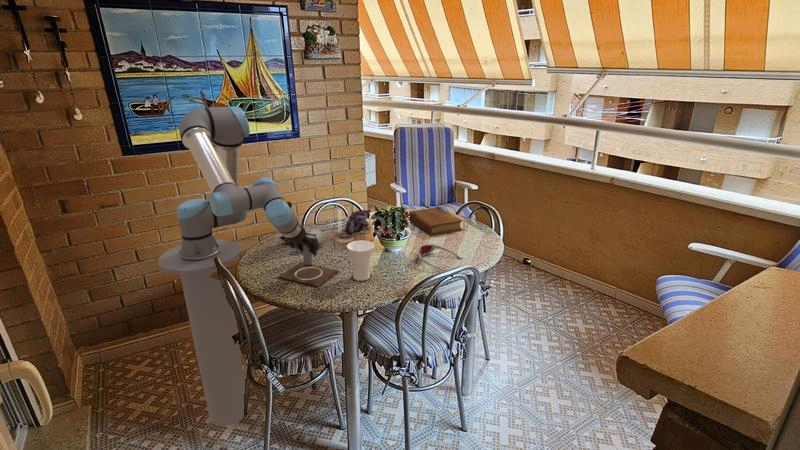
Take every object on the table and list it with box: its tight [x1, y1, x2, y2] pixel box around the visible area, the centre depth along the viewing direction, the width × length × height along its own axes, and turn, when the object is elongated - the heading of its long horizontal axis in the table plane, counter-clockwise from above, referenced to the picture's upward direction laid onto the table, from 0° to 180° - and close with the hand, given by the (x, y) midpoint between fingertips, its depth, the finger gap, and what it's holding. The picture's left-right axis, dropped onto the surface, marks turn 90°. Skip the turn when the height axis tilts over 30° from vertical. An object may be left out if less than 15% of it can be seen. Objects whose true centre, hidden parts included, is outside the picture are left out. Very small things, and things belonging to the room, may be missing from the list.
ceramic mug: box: [307, 228, 325, 245], centre depth 188 cm, size 11×8×8 cm
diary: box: [408, 206, 463, 237], centre depth 213 cm, size 23×19×6 cm
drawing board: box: [278, 262, 339, 288], centre depth 162 cm, size 18×14×1 cm
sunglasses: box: [416, 243, 462, 272], centre depth 174 cm, size 17×17×5 cm
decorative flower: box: [345, 209, 372, 235], centre depth 207 cm, size 15×12×15 cm
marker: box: [302, 244, 313, 267], centre depth 159 cm, size 3×3×12 cm
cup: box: [346, 239, 375, 282], centre depth 158 cm, size 10×10×14 cm
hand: (311, 252), depth 163 cm, fingers closed on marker, 3 cm apart
